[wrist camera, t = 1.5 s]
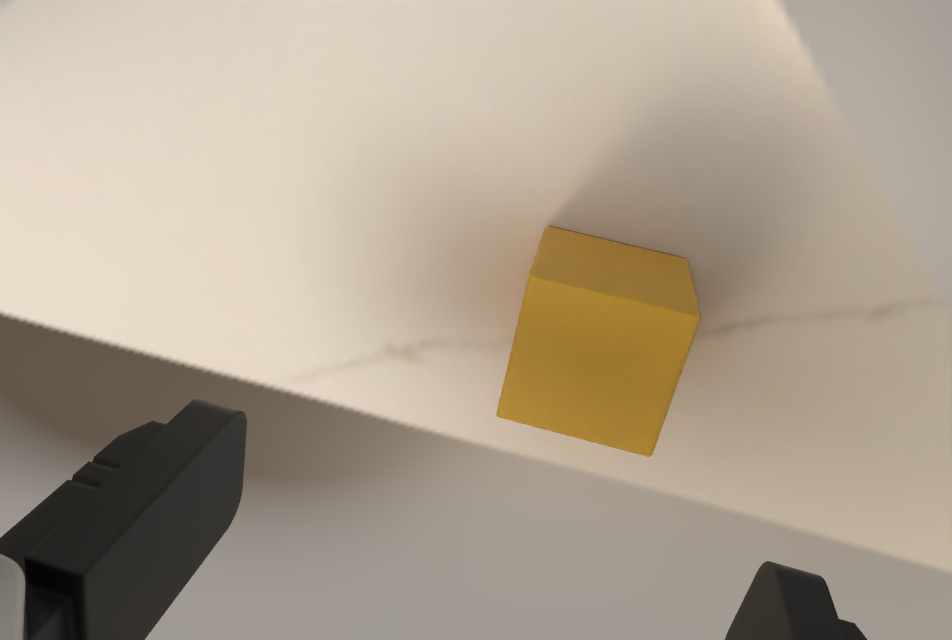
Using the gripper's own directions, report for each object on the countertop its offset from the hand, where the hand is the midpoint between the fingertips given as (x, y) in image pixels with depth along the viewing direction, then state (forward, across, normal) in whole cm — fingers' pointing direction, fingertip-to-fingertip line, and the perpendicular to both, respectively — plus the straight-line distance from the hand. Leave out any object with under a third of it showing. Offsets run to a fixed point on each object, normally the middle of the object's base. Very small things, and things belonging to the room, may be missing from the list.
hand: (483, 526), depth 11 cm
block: (+13, -2, +2) cm, 13 cm away
